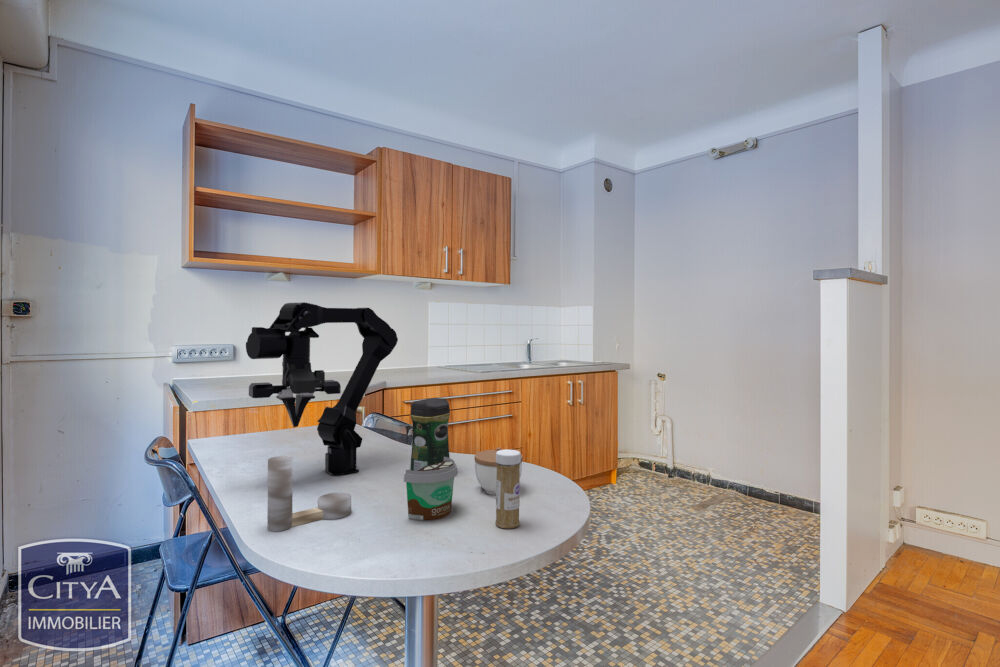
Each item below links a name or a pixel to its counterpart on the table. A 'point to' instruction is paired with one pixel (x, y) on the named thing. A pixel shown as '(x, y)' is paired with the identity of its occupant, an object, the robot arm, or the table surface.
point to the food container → (430, 490)
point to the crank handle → (282, 499)
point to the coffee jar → (429, 432)
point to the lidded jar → (488, 469)
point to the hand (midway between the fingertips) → (295, 426)
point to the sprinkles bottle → (507, 488)
